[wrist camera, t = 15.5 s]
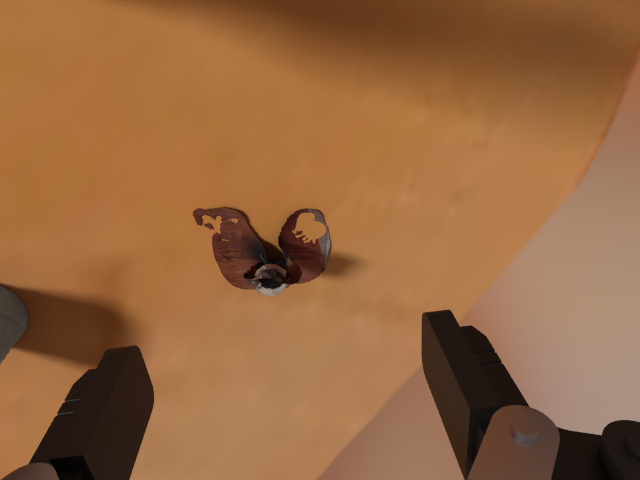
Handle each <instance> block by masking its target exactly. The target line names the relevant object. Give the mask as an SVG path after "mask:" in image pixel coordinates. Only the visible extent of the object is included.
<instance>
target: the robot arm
mask: <svg viewBox="0 0 640 480" xmlns="http://www.w3.org/2000/svg"><path fill="white" fill-rule="evenodd" d="M422 364H423V369H424V374H425V377H426V380H427V382H428V385H429V388H430V390H431V393H432V396H433V398H434V401H435V403H436V406H437V408H438V411H439V414H440V417H441V419H442V422H443V424H444V427H445V430H446V432H447V435H448V437H449V440H450V443H451V445H452V448H453V451H454V453H455V456H456V458H457V461H458V464H459V466H460V469H461V472H462V474H463V477H464V479H465V480H640V422H636V421H630V420H619V421H615V422H611V423H610V424H608V425H607V426H606V427H605V428H604V430H603V433H602V435H594V434H589V433H581V432H574V431H569V430H565V429H562V428H558V427H556V426H555V424H554V423H553V422H552V420H550V419H549V418H548V417H547V416H546V415H544V414H543V413H541V412H540V411H538V410H536V409H533V408H530V407H529V405H528V404H527V402H526V401H525V399H524V397H523V396H522V394H521V392H520V391H519V389H518V387H517V386H516V384H515V383H514V381H513V379H512V378H511V376H510V374H509V373H508V371H507V370H506V368H505V366H504V365H503V364H502V363H501V360H500V358H499V357H498V355H497V353H495V350H494V348H493V347H492V345H491V344H490V342H489V340H488V339H487V337H486V336H485V335H484V334H482V333H481V332H480V331H478V330H477V329H476V328H474V327H473V326H463V327H460V326H459V324H458V323H457V321H456V319H455V317H454V315H453V313H452V312H451V311H450V310H442V311H434V312H425V313H423V315H422ZM153 404H154V391H153V386H152V383H151V380H150V377H149V374H148V371H147V368H146V365H145V362H144V359H143V357H142V354H141V351H140V349H139V347H138V346H128V347H119V348H110V349H108V350H106V352H105V353H104V355H103V357H102V359H101V361H100V363H99V365H98V367H97V369H90V370H88V371H87V372H86V373H85V374H84V375H83V376H82V377H81V378H80V379H79V380H77V381H76V382H75V383H74V384H73V386H72V388H71V390H70V391H69V393H68V395H67V397H66V399H65V403H63V404H62V406H61V407H60V409H59V411H58V413H57V414H58V415H57V416H55V418H54V420H53V422H52V423H51V425H50V427H49V429H48V430H47V432H46V434H45V436H44V437H43V439H42V441H41V443H40V445H39V446H38V448H37V450H36V452H35V453H34V455H33V457H32V459H31V460H30V462H29V464H28V465H25V466H23V467H20V468H18V469H16V470H15V471H13V472H11V473H10V474H8V475H7V476H6V477H4V478H3V479H2V480H129V479H130V476H131V473H132V470H133V467H134V464H135V461H136V458H137V455H138V452H139V449H140V446H141V443H142V440H143V437H144V434H145V431H146V427H147V424H148V421H149V418H150V415H151V412H152V409H153Z"/></svg>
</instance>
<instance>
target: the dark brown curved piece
mask: <svg viewBox="0 0 640 480" xmlns="http://www.w3.org/2000/svg"><path fill="white" fill-rule="evenodd" d="M304 212H306V213H313V214H314V215H315V220H314V221H319V222H321V223H323V224H324V225H326V223H325V221H324V218H323V216H322V214H321V213H320V212H319V211H318V210H311V209H302V210H298V211H296V212H295V213H294V214H292V215H290V217H289V218H287V222H286V223H285V224H284V226H283V227H282V230H281V232H280V235H279V237H278V239H279V241H278V243H279V246H280V248H281V250H282V251H283V257H282V259H281V260H280V261H278V262H270V261H269V260H268V258H267V255H266V252H265V248H264V245H263V244H262V242H260V241H259V239H258V238H257V237H256V236H255V234H254V233H253V232H252V230H251V228H250V227H249V226H248V225H247V220H246V219H245V218H244V216H243V215H242V214H240V213H239V212H237V211H236V210H232V209H227V208H215V209H207V210H201V209H196V210H194V212H193V216H194V217H195V220H196V223H197V225H203V219H202V216H203V215H208V216H211V217H212V218H213V219H214V220H216V216H218V215H220V216H221V217H222V219H221V221H222V223H221V224H220V225H221V227H220V231H221V234H218V233H215V234H214V235H213V237H212V245H213V253H214V256H215V259H216V261H217V263H218V266H219V268H220V271H221V273H222V274H223V276H224V277H225V278H226V279H227V281H228V282H230V283H231V284H232V285H233V286H235V287H238V288H241V289H255V290H257V291H258V292H259V293H262V294H264V295H268V296H274V295H278V294H279V293H280V292H282V291H283V289H284V288H287V287H289V286H290V285H291V284H295V283H297V284H301V283H306V282H310V281H311V280H312V279H315V278H316V277H318V276H319V275H320V273H321V272H322V271H324V267H325V264H326V262H327V260H328V254H329V250H330V240H329V232H328V227H327V226H325V227H326V233H325V235H324V236H322V237H321V238H319V239H316V243H314V244H313V241H312V240H310V242H307V241H306V240H307V239H308V238H307V239H306V240H302V238H303V237H305V236H306V235H305V236H304V235H303V236H301V237H299V238H296V236H295V235H299V234H300V235H301V233H302V231H300V232H299V231H297V233H296V234H294V233H293V232H292V230H294V229H295V227H296V222H297V218H298V216H299V215H300V214H301V213H304ZM232 218H234V219H235V218H236V219H237V220H238V222H237V223H234V222H232V221H231V220H230V219H232ZM228 219H229V220H230V221H229V220H228ZM228 221H229V222H228ZM204 226H205V227H208V228H209V229H214V228H213V226H212V224H210V223H207V224H204ZM294 231H295V230H294ZM222 239H225V240H229V241H225V240H224V241H223V240H222ZM303 241H306V242H307V243H303Z"/></svg>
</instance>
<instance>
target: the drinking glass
mask: <svg viewBox="0 0 640 480" xmlns="http://www.w3.org/2000/svg"><path fill="white" fill-rule="evenodd" d="M27 324H28V314H27V311H26V308H25V306H24V304H23V303H22V301H21V300H20V299H19V298H18V297H17V296H16V295H15V294H14V293H13V292H11V291H10V290H8V289H7V288H5V287H3V286H0V364H1V362H2V361H3V360H4V359H5V357H6V355H7V354H8V353H9V351H10V349H11V348H12V347H13V346H14V344H15V343H16V342H17V341H18V340H19V339H20V337H21V336H22V335H23V333H24V332H25V330H26V327H27Z"/></svg>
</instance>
